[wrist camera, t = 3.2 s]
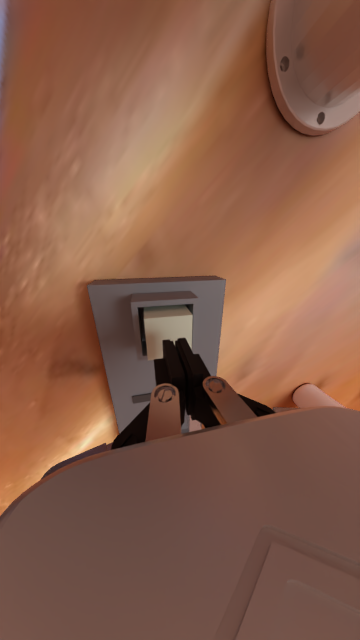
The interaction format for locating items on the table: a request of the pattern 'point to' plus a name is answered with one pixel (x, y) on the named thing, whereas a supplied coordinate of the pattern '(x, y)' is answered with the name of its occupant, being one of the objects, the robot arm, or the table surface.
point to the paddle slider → (192, 423)
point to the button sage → (166, 327)
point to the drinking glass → (313, 397)
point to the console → (129, 332)
